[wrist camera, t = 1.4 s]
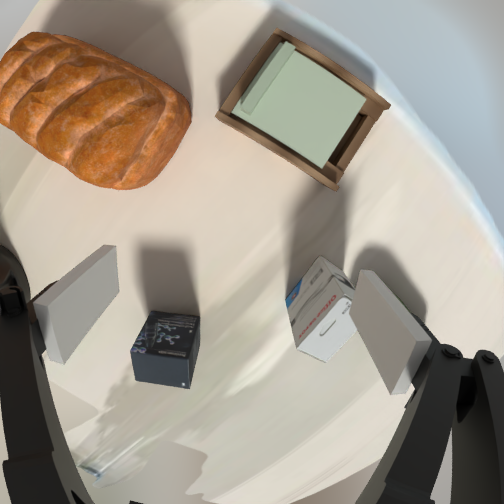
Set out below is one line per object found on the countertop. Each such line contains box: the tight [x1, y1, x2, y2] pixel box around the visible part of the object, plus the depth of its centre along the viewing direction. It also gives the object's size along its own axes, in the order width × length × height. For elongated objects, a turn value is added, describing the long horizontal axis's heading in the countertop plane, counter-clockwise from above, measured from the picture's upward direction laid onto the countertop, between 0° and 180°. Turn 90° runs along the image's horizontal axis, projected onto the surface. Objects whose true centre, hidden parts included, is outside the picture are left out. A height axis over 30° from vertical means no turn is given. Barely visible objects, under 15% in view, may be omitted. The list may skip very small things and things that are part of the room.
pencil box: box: [215, 28, 391, 191], centre depth 32 cm, size 16×13×5 cm
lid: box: [231, 42, 366, 169], centre depth 29 cm, size 12×10×4 cm
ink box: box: [285, 256, 357, 363], centre depth 37 cm, size 8×5×12 cm, turn 146°
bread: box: [0, 32, 192, 190], centre depth 26 cm, size 14×26×16 cm, turn 55°
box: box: [130, 311, 200, 389], centre depth 40 cm, size 8×6×11 cm
